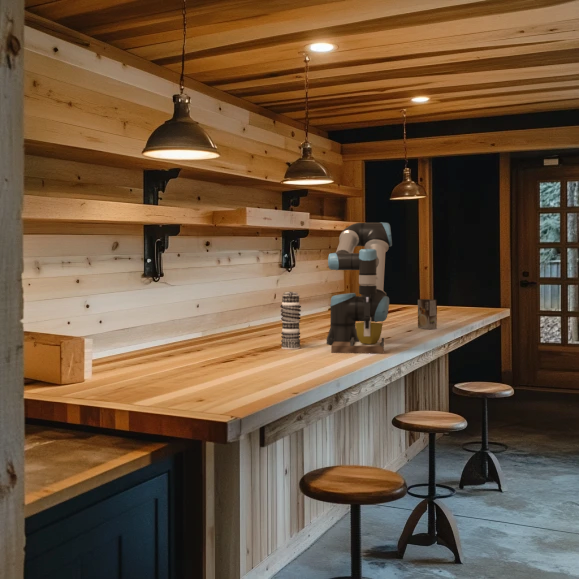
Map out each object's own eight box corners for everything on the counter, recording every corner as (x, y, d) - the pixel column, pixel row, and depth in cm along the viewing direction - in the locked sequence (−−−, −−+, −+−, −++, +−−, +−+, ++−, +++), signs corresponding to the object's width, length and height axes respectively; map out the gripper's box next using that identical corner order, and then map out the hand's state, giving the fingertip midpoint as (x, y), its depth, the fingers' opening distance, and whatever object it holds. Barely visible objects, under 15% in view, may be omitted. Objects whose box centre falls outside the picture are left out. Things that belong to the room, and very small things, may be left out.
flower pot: (372, 344, 311) (373, 323, 311) (354, 343, 316) (355, 322, 316) (382, 344, 318) (383, 323, 318) (364, 342, 323) (365, 322, 323)
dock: (331, 352, 314) (331, 341, 313) (333, 348, 328) (333, 337, 327) (383, 353, 311) (383, 341, 310) (383, 349, 325) (384, 337, 324)
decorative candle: (288, 350, 322) (288, 292, 320) (276, 347, 329) (276, 291, 328) (305, 348, 327) (305, 292, 326) (292, 346, 335) (292, 291, 333)
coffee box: (437, 328, 406) (437, 299, 405) (429, 329, 402) (429, 300, 401) (424, 327, 413) (425, 298, 412) (417, 328, 409) (417, 299, 408)
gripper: (376, 286, 304) (375, 338, 306) (377, 283, 329) (376, 330, 330) (357, 286, 305) (357, 337, 307) (360, 283, 330) (359, 330, 331)
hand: (367, 334), depth 318 cm, fingers open, 13 cm apart
